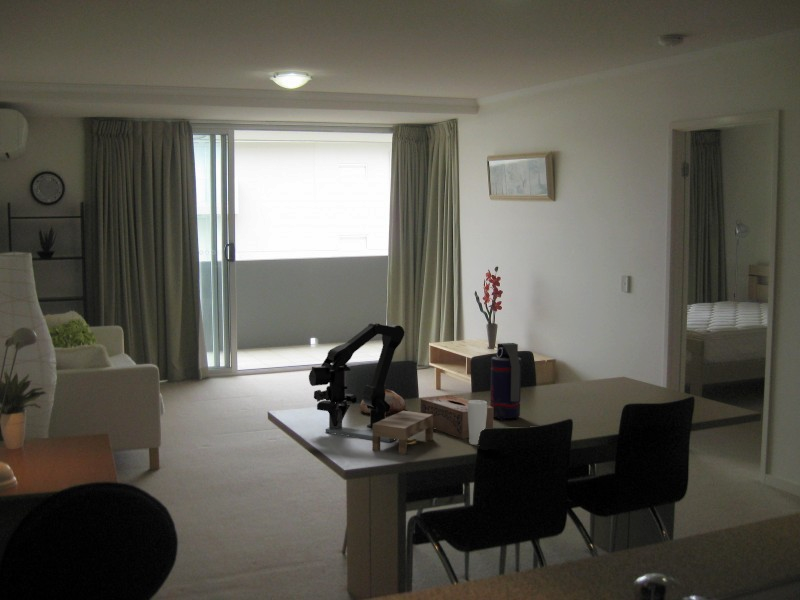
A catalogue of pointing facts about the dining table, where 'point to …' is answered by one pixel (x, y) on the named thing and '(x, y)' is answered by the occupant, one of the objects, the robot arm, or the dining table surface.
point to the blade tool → (351, 430)
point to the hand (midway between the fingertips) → (336, 425)
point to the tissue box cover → (451, 414)
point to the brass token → (411, 441)
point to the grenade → (506, 382)
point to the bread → (392, 399)
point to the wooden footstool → (402, 428)
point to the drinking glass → (476, 419)
